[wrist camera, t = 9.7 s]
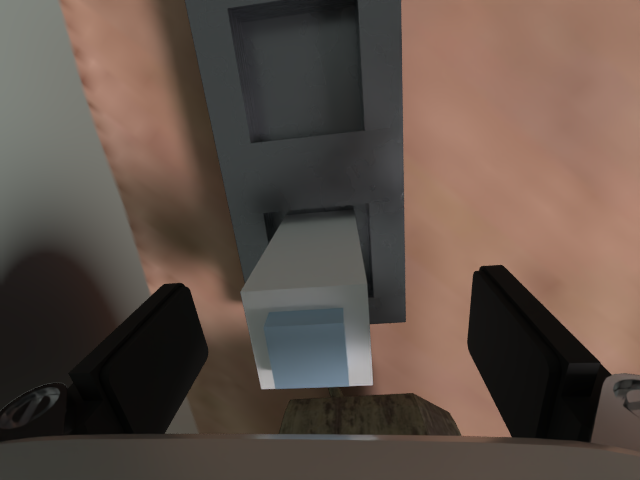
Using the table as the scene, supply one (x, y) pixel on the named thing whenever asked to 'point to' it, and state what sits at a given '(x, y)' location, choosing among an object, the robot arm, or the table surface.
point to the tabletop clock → (367, 416)
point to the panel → (309, 123)
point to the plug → (310, 305)
